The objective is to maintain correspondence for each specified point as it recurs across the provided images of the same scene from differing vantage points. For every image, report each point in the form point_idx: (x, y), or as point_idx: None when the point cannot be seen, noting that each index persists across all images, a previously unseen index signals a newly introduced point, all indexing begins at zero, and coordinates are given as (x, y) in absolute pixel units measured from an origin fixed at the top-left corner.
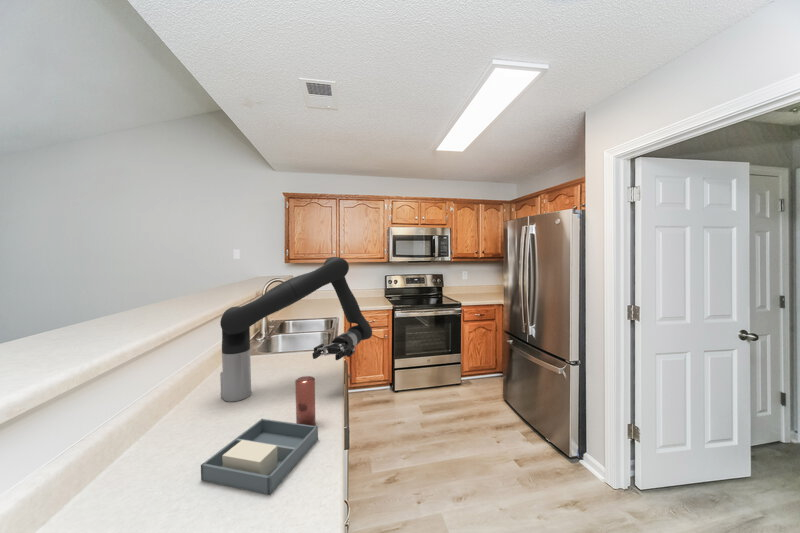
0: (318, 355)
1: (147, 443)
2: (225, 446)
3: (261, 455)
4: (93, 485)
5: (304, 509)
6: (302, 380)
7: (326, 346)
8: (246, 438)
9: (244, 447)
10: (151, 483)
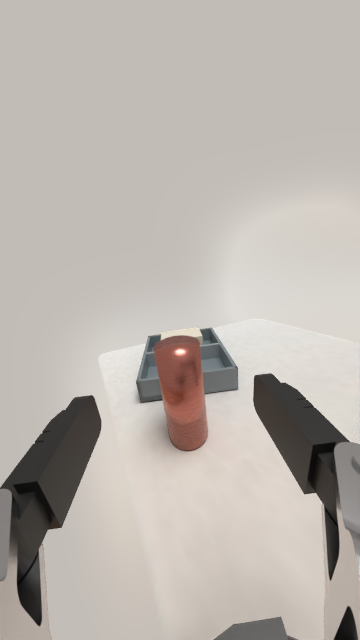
0: (283, 447)
1: (336, 343)
2: (217, 337)
3: (165, 334)
4: (282, 325)
5: (122, 354)
6: (180, 342)
7: (357, 593)
8: (223, 357)
9: (189, 333)
10: (249, 334)
